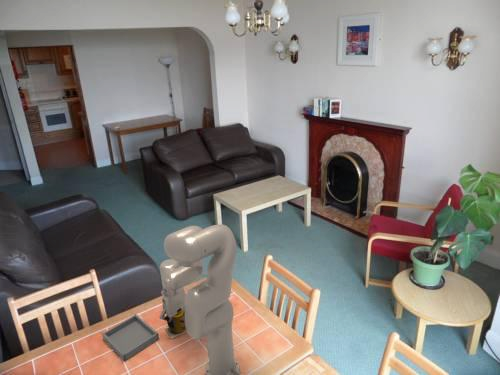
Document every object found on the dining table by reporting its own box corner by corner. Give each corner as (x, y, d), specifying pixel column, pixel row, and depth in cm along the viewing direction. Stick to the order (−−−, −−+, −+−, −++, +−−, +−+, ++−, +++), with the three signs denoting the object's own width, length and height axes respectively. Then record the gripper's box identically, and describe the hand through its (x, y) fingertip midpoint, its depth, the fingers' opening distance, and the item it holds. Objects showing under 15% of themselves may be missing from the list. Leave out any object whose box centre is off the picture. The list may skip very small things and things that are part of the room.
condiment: (189, 330, 160) (186, 307, 156) (171, 339, 156) (167, 316, 152) (182, 321, 166) (179, 298, 162) (164, 329, 161) (160, 307, 157)
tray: (159, 338, 156) (158, 333, 155) (124, 361, 146) (123, 355, 145) (137, 319, 168) (135, 314, 167) (103, 339, 158) (102, 333, 157)
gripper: (159, 302, 146) (165, 338, 152) (194, 282, 157) (198, 316, 164) (149, 294, 151) (155, 329, 157) (183, 275, 162) (188, 309, 169)
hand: (177, 322), depth 160 cm, fingers closed on condiment, 6 cm apart
